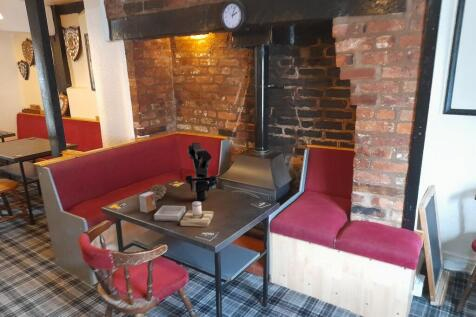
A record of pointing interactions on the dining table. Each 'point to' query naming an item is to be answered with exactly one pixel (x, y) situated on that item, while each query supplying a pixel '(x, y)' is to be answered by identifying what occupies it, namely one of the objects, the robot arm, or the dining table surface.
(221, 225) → the dining table surface
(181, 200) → the dining table surface
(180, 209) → the tray
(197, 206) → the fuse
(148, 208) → the small box
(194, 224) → the socket block
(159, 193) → the pine cone
